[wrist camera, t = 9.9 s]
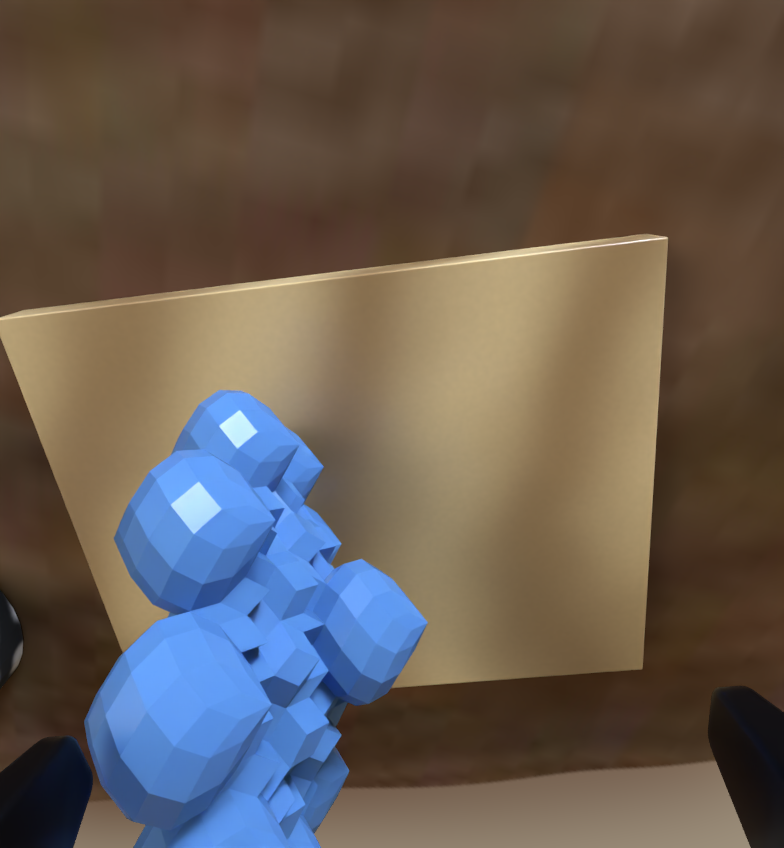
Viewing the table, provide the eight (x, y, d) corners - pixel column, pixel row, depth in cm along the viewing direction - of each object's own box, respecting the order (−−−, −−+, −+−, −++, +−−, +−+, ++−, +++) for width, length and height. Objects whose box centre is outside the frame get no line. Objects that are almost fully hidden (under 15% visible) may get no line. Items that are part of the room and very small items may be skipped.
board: (647, 233, 17) (669, 236, 16) (628, 641, 23) (643, 669, 22) (23, 309, 18) (-8, 319, 17) (158, 678, 24) (142, 707, 23)
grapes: (439, 634, 21) (479, 1114, 10) (265, 651, 22) (121, 1128, 11) (397, 333, 17) (387, 597, 6) (181, 362, 17) (-209, 657, 6)
